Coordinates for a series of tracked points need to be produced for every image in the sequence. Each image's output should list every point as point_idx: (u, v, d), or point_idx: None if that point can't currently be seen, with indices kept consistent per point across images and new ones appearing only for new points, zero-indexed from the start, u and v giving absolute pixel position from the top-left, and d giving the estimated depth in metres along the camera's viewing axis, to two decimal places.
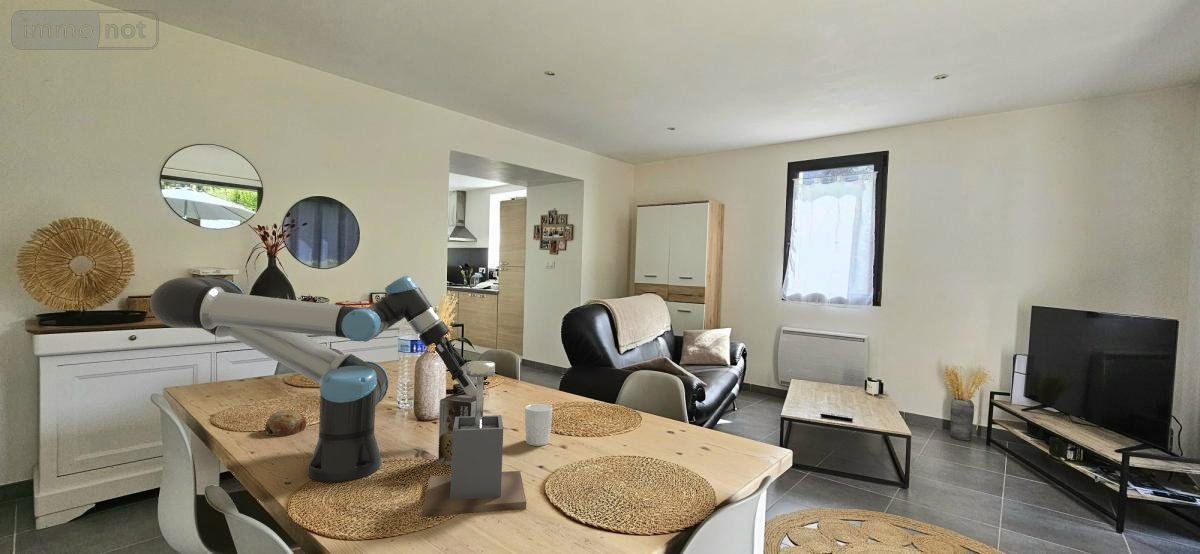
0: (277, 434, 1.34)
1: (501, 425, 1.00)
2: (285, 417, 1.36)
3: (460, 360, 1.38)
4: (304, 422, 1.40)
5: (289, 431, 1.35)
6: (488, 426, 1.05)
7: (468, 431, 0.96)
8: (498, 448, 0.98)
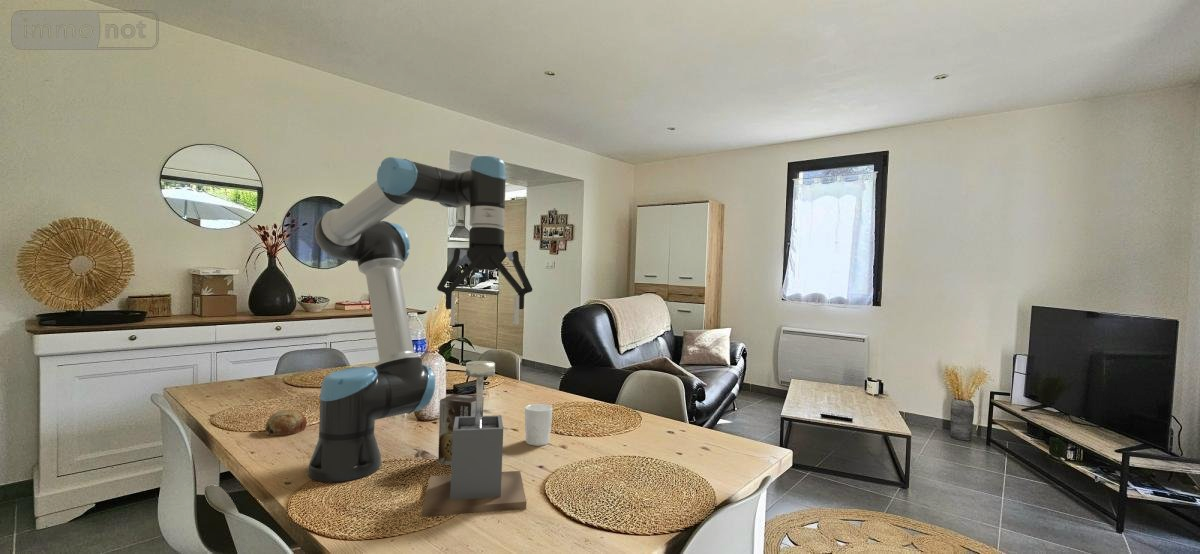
0: (277, 434, 1.34)
1: (501, 425, 1.00)
2: (285, 416, 1.36)
3: (513, 287, 1.06)
4: (304, 422, 1.40)
5: (289, 430, 1.35)
6: (488, 426, 1.05)
7: (468, 431, 0.96)
8: (498, 448, 0.98)
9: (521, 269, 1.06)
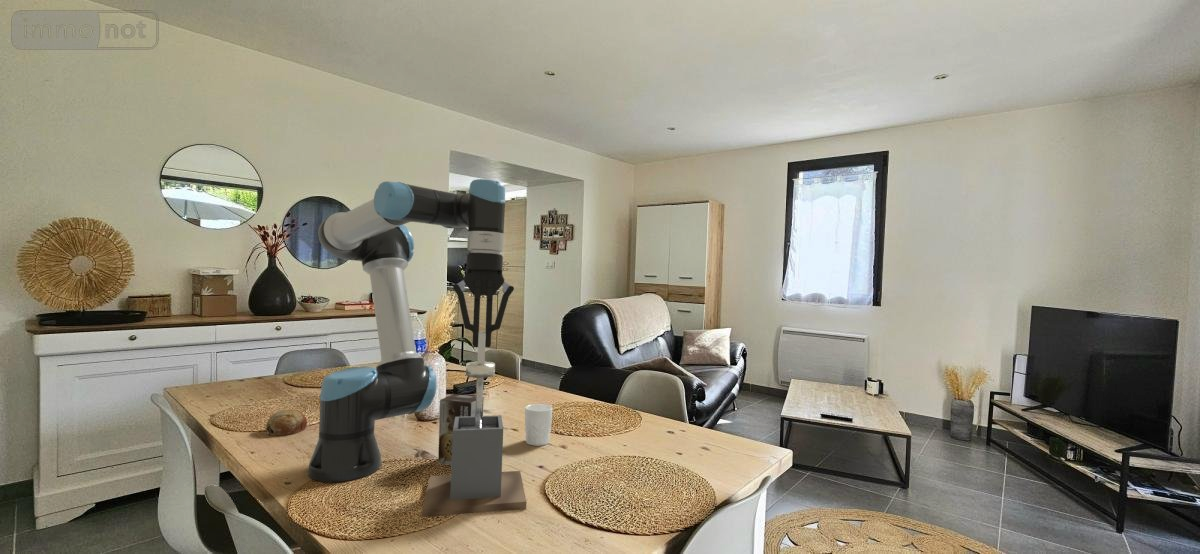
0: (277, 434, 1.34)
1: (501, 425, 1.00)
2: (285, 416, 1.36)
3: None
4: (305, 422, 1.40)
5: (289, 430, 1.35)
6: (488, 427, 1.05)
7: (468, 431, 0.96)
8: (498, 448, 0.98)
9: (504, 305, 1.02)
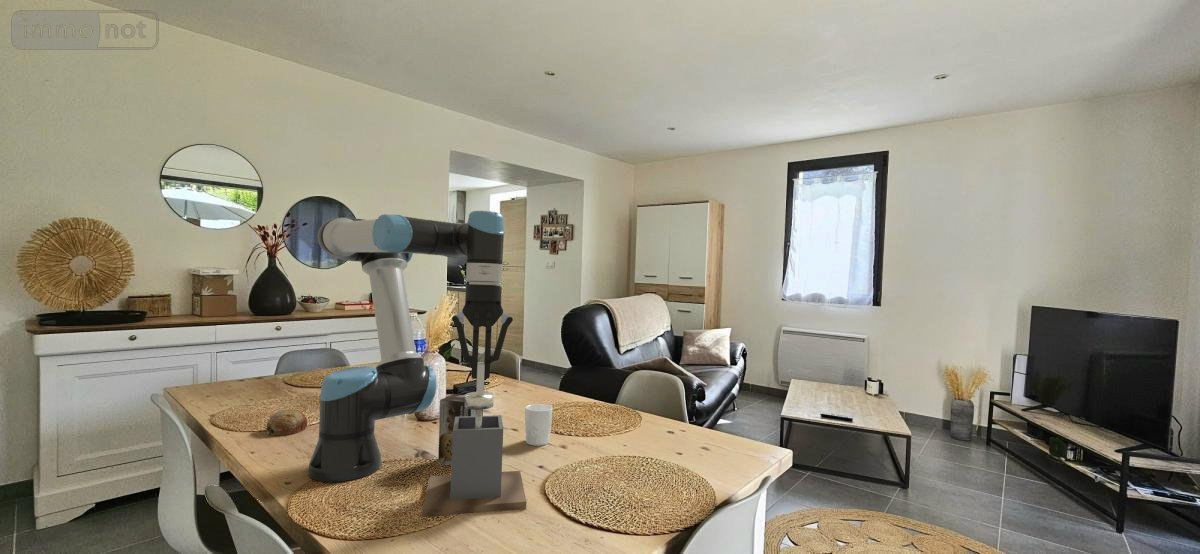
0: (278, 434, 1.34)
1: (501, 425, 1.00)
2: (286, 416, 1.36)
3: None
4: (305, 422, 1.40)
5: (290, 430, 1.35)
6: None
7: (468, 431, 0.96)
8: (498, 448, 0.98)
9: (503, 336, 1.02)
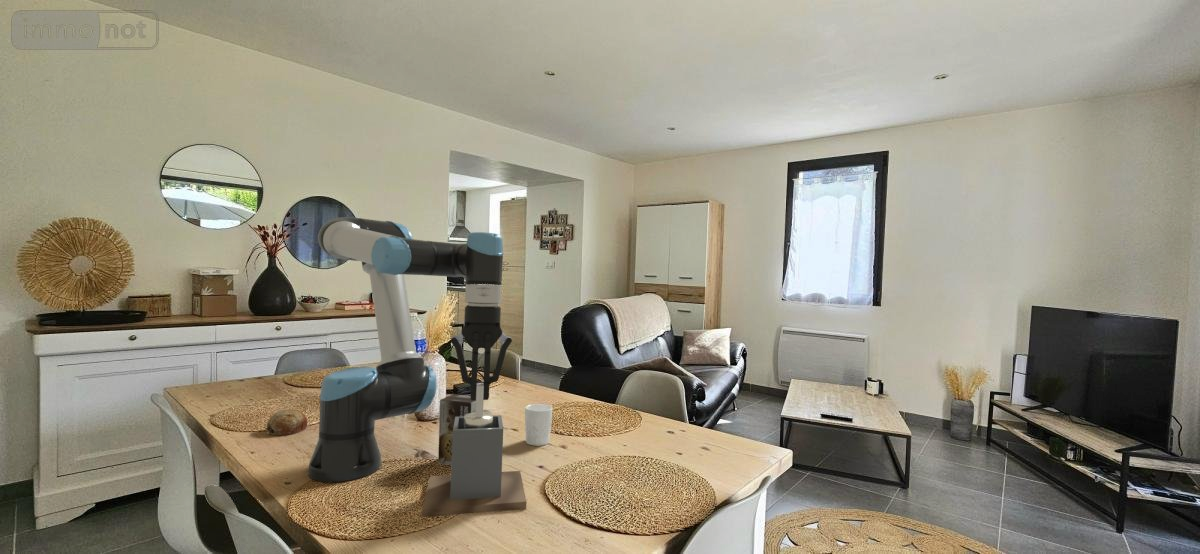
0: (278, 434, 1.34)
1: (501, 425, 1.00)
2: (286, 416, 1.36)
3: None
4: (305, 421, 1.40)
5: (290, 430, 1.35)
6: None
7: (468, 431, 0.96)
8: (498, 448, 0.98)
9: (502, 357, 1.02)
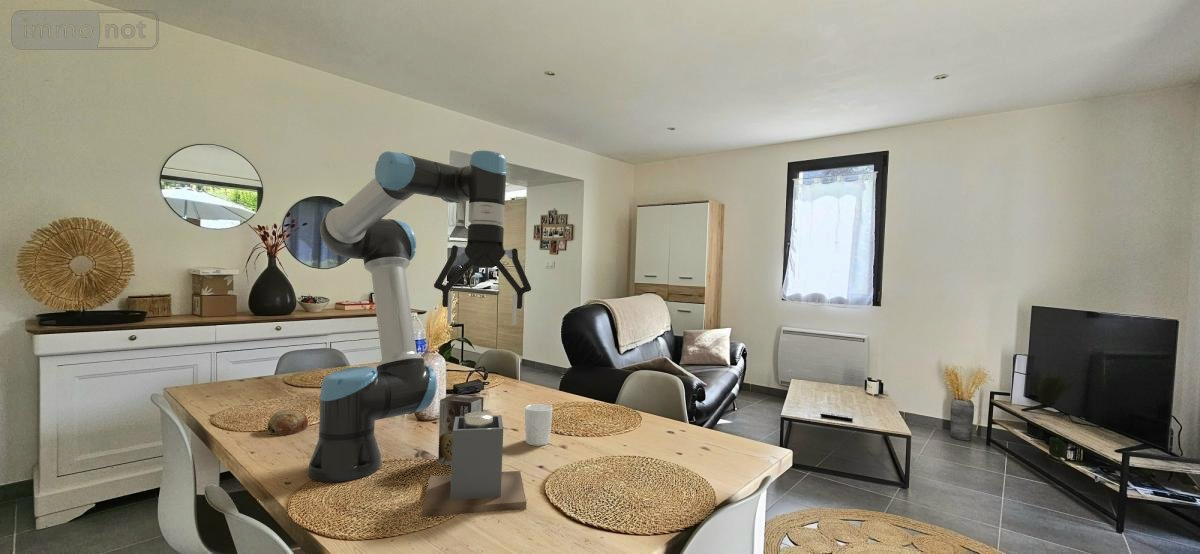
0: (279, 433, 1.35)
1: (501, 425, 1.00)
2: (287, 416, 1.36)
3: (512, 285, 1.03)
4: (306, 421, 1.41)
5: (291, 430, 1.35)
6: None
7: (468, 431, 0.96)
8: (498, 448, 0.98)
9: (520, 267, 1.03)
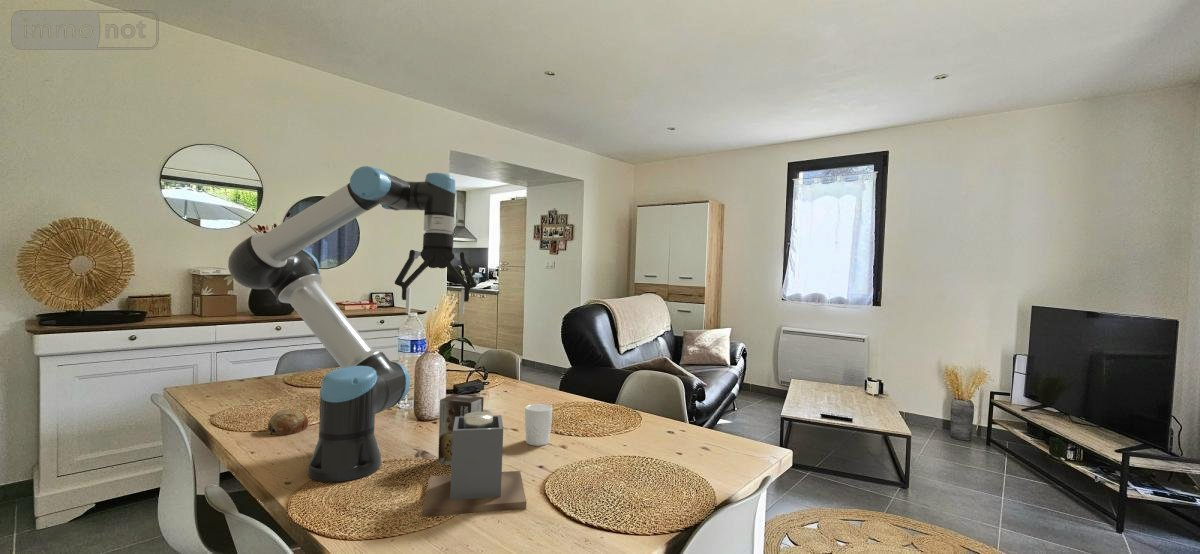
0: (279, 433, 1.35)
1: (501, 425, 1.00)
2: (287, 416, 1.37)
3: (460, 282, 1.26)
4: (306, 421, 1.41)
5: (291, 430, 1.36)
6: None
7: (468, 431, 0.96)
8: (498, 448, 0.98)
9: (466, 268, 1.26)
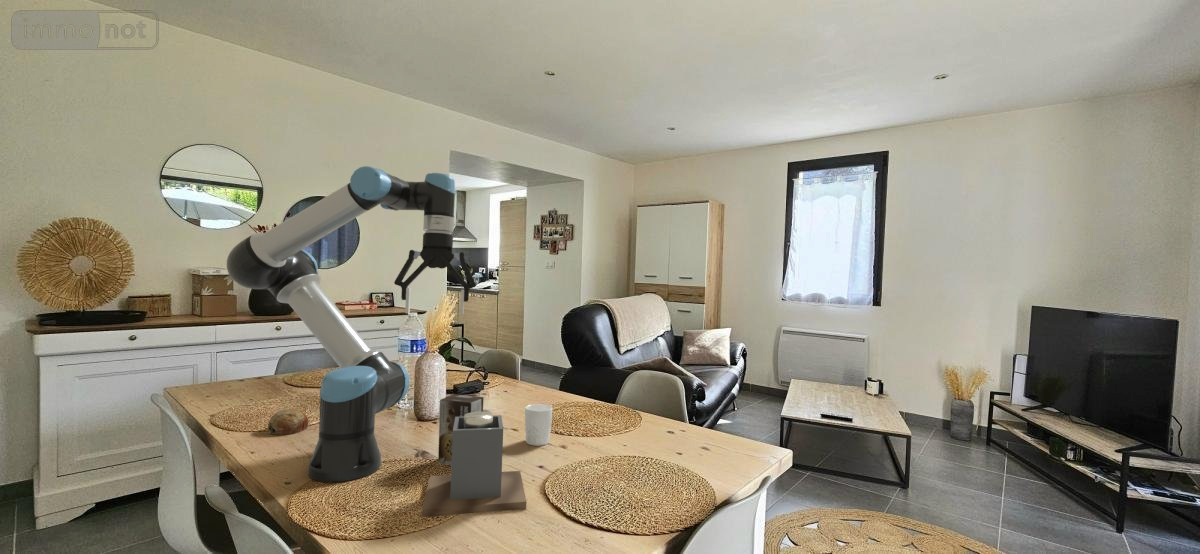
0: (279, 433, 1.35)
1: (501, 425, 1.00)
2: (287, 416, 1.37)
3: None
4: (306, 421, 1.41)
5: (291, 430, 1.36)
6: None
7: (468, 431, 0.96)
8: (498, 448, 0.98)
9: (466, 268, 1.26)
